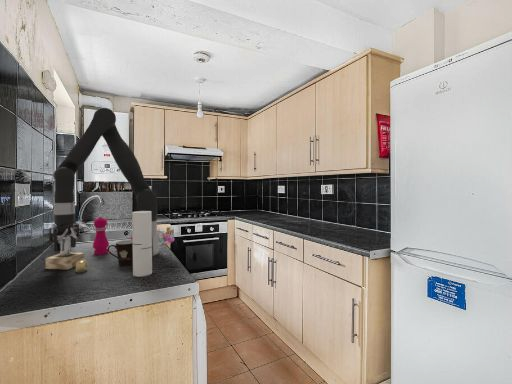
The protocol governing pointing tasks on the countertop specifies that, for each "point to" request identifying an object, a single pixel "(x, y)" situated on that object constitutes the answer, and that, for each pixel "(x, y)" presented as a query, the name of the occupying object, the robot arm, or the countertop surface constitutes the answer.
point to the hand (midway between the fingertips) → (65, 249)
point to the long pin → (65, 247)
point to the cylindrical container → (142, 243)
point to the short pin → (81, 266)
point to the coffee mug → (124, 252)
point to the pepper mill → (100, 236)
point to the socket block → (63, 261)
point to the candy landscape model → (164, 236)
